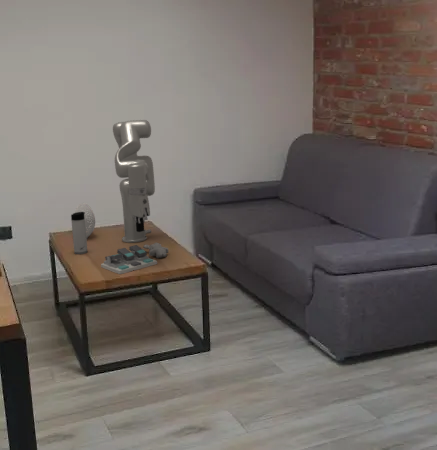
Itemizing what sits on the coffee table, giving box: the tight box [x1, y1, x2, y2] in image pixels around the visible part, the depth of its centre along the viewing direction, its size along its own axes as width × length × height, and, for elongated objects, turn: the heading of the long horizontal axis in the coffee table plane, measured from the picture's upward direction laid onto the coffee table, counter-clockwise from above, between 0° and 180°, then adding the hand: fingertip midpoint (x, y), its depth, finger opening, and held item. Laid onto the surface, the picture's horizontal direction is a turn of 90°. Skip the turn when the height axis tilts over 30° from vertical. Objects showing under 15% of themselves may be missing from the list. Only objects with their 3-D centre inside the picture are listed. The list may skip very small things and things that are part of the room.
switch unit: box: [100, 248, 158, 275], centre depth 310 cm, size 20×15×5 cm
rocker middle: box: [116, 247, 135, 260], centre depth 311 cm, size 4×8×2 cm, turn 41°
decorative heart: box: [74, 202, 96, 240], centre depth 360 cm, size 18×11×17 cm, turn 15°
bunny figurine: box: [142, 242, 169, 259], centre depth 325 cm, size 10×5×15 cm
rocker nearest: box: [128, 244, 148, 257], centre depth 315 cm, size 4×8×2 cm, turn 41°
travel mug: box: [70, 211, 88, 255], centre depth 332 cm, size 6×7×20 cm
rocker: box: [104, 253, 122, 261], centre depth 307 cm, size 4×8×2 cm, turn 41°
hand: (140, 231), depth 311 cm, fingers closed
